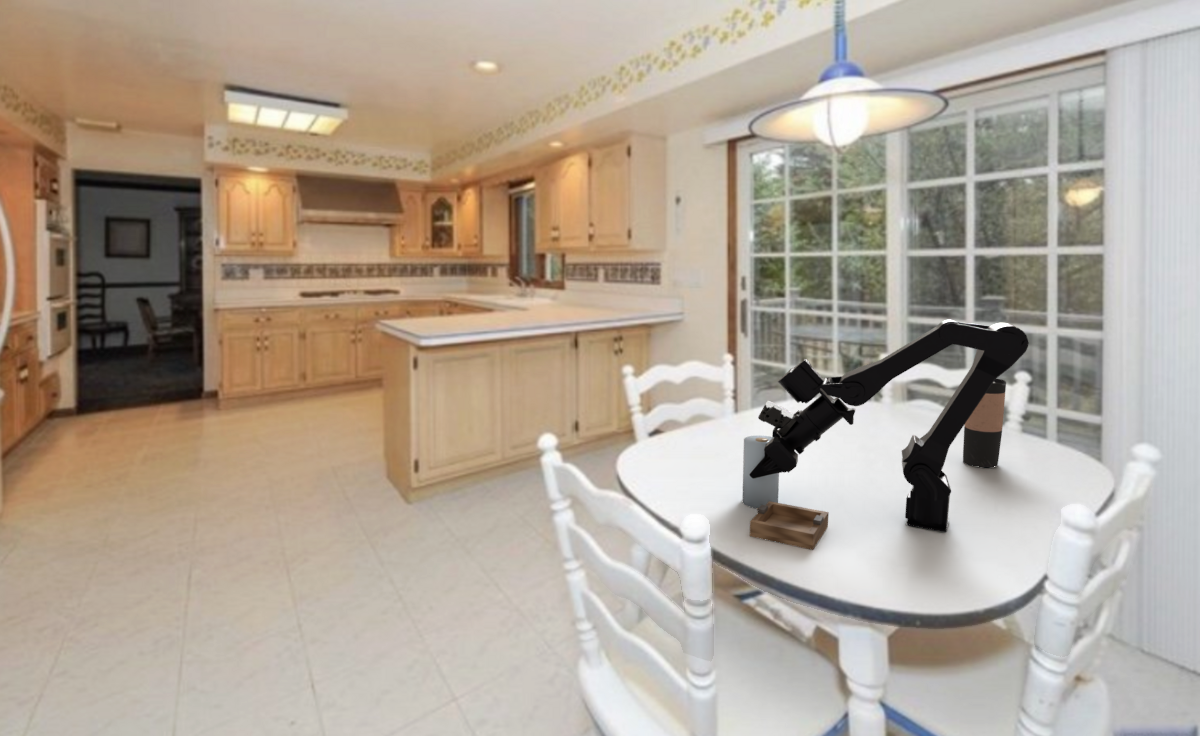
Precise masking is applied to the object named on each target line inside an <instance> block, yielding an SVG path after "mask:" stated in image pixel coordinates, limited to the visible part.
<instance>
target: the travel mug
mask: <svg viewBox="0 0 1200 736" xmlns="http://www.w3.org/2000/svg"><path fill="white" fill-rule="evenodd" d="M1006 390H1007V381H1006V380H1005V379H1001V378H996V379H995V381H994V382H993V383H992V385H991V386H990V388H989V389H988V391H987V392H986V394H985V395H984V397H983V398H982V400H981V401H980V402H979V404H978V405H977V407H976V408H975V410H974V411H973V413H972V414H971V416H970V417H969V419H968V420H967V422H966V423H965V424H964V426H963V428H964V429H963V448H962V450H963V451H962V462H963V463H964V462H965V463H966V465H967V464H969V465H968V466H970V465H973V466H972V467H974V466H979V467H978V468H980V467H994V466H997V467H998V464H999V459H1000V452H1001V451H1000V450H1001V445H1002V443H1001V442H1002V437H1003V435H1002V434H1003V427H1004V426H1003V425H1004V415H1005V414H1004V412H1005V401H1006ZM965 463H964V464H965ZM994 468H995V467H994Z"/></svg>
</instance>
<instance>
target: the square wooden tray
mask: <svg viewBox="0 0 1200 736" xmlns="http://www.w3.org/2000/svg"><path fill="white" fill-rule="evenodd" d="M756 512H757V513H756V514H755V516H754V517H753V518H751V520H750V521H749V537H751V536H752V538H757V539H760V538H761V539H760V540H765V539H766V540H765V541H769V540H770V542H774V541H776V542H775V543H779V542H780V543H779V544H783V543H784V545H788V546H792V547H793V546H794V547H797V548H802V549H806V550H811V551H813V550H814V549H815V547H816V546H817V544H818V542H819V541H820V539H821V538H822V537H823V535H824V534H825V532H826V530H827V529H828V527H829V512H828V511H825V510H824V511H823V510H819V509H812V508H808V507H802V506H797V505H793V504H792V505H791V504H787V503H781V502H778V503H776V502H771V501H769V502H768V503H767V504H766V505H761V506H760V507H759V508H758V509H757V511H756Z"/></svg>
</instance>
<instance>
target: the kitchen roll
mask: <svg viewBox="0 0 1200 736" xmlns="http://www.w3.org/2000/svg"><path fill="white" fill-rule="evenodd" d="M773 438H774V437H772V436H770V435H750V436H746V437H744V438H743V461H742V463H743V464H742V501H743V502H742V503H744V504H743V505H744V506H746V505H747V507H748V506H750V507H749V508H752V507H753V509H756V508H759V507H760V506H761V505H766V504H767V503H768V502H769V501H771V502H776V503H779V487H780V486H779V484H780V473H776V474H771V475H767V476H762V477H758V478H754V479H753V478H751V476H750V475H749V474H750V473H751V471H752V470H753V469H754V468H755V467H756V465H757V464H758V463H759V462H760V461H761V460H762V458H763V457H764V448H765V446H766V444H767V443H768V442H769V441H770V440H771V439H773Z"/></svg>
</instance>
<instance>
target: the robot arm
mask: <svg viewBox="0 0 1200 736" xmlns="http://www.w3.org/2000/svg"><path fill="white" fill-rule="evenodd" d="M953 345H955V346H960V347H964V348H970V349H975V350H976V352H975V355H974V358H973V362H972V364H971V367H970V368H969V370H968V371H967V373H966V375H965V376H964V378H963V379H962V381H961V382H960V384H959V385H958V387H957V389H956V390H955V391H954V393H953V395H952V396H951V397H950V398H949V399H948V402H947V403H946V405H945V406H944V407H943V409H942V410H941V413H939V415H938V417H937V419H936V420H935V421H934V423H933V424H932V425H931V428H930V429H929V430H928V431H927V432H926V433H925V434H923V436H921V437H920V438H919V437H918V436H917V435H915V434H912V435H911V438H910V440H909V442H908V445H907V446H906V447H905V448H903V449H901V456H902V458H901V465H902V474H903V477H904V479H905V480H906V481H907V483H908V484H909V485H911V488H910V492H909V493H908V494H907V495H906V499H905V500H906V502H905V516H904V518H905V520H906V525H907V526H909V527H915V528H921V529H925V530H930V531H935V532H936V531H937V532H941V533H947V531H948V527H949V524H950V523H949V522H950V518H949V512H950V511H949V510H950V509H949V508H950V499H951V493H952V489H951V486H950V483H949V480H948V477H947V475H946V473H945V472H944V471H942V470H943V468H944V466H945V465H944V464H945V462H946V459H947V455H948V452H949V450H950V447H951V445H952V444H953V443H954V441H955V439H956V438H957V436H959V435H958V434H959V433H960V432H961V430H962V429H963V428H964V427H965V426H964V424H965V423H966V422H967V420H968V419H969V417H970V416H971V414H972V413H973V411H974V410H975V408H976V407H977V405H978V404H979V402H980V401H981V400H982V398H983V397H984V395H985V394H986V392H987V391H988V389H989V388H990V386H991V385H992V383H993V382H994V381H995V379H999V377H1000V376H1001V375H1003V374H1004V373H1005V372H1006V371H1007V370H1008V371H1009V369H1011V368H1012V367H1013V366H1014V365H1015V364H1016V362H1017V361H1019V359H1020V358H1022V357H1023V355H1024V354H1025V353H1026V352H1027V350H1028V348H1029V339H1028V336H1027V334H1026V333H1025V331H1023V330H1022V329H1020V328H1019V327H1017V326H1015V325H1013V324H1011V323H1007V322H998V323H994V324H991V325H985V324H979V323H978V324H977V323H969V322H961V321H956V320H953V319H944V320H943V321H940V322H939V323H938V324H937V325H936V326H935V327H932V329H930V330H928V331H927V332H925V333H923V334H921V335H920V336H918V337H917V338H915V339H913V340H911V341H910V342H908V343H906V344H904V345H903V346H901V347H899V348H898V349H896V350H895V351H893V352H892V353H890V354H888V355H887V356H885V357H883V358H882V359H879V360H877V361H874V362H871V363H868V364H865V365H861V366H859V367H857V368H855V369H852V370H849V371H847V372H845V373H844V374H843V375H842V376H828V377H827V376H826V377H823V376H822V375H821V374H820V373H819V372H818V371H817V370H816V369H815V368H814V367H813V365H812V364H811V363H810V361H808V359H806V358H804V359H803V360H802V361H800V362H799V363H798V364H796V365H795V366H794V367H792V368H790V369H789V370H788V371H786V373H785V374H784V375H783V376H781V377H780V378H779V379H778V380H777V384H779V385H780V386H781V387H782V388H783V389H784V390H785V391H786V393H788V394H789V395H790V396H791V397H792V398H793V400H795V402H796V403H798V404H799V403H802V404H804V403H805V404H808V403H809V402H810V401H812V400H813V399H815V398H816V397H817V396H818V395H819V394H820V395H819V397H818V398H816V399H815V400H814V401H812V402H811V403H810V404H809V405H808V406H807V407H805V408H804V409H803V410H798V409H797V411H795V412H794V413H793V412H791V411H789V410H788V409H786V408H784V407H782V406H781V405H779V404H777V403H775V402H773V401H771V400H766V402H765V404H764V405H763V407H762V409H761V410H760V413H759V415H758V420H759V421H761V422H763V423H767V424H769V425H771V426H772V427H774V428H773V430H772V434H771V435H772V436H771V437H774V438H773V439H771V440H770V441H769V442H768V443H767V444H766V446H765V448H764V457H763V458H762V460H761V461H760V462H759V463H758V464H757V465H756V467H755V468H754V469H753V470H752V471H751V473H750V474H749V475H750V476H751V478H753V479H754V478H758V477H762V476H767V475H771V474H776V473H779V474H780V473H787V474H788V473H790V472H792V471H793V470H794V469H795V468H796V467H797V466H798V463H799V455H801V454H802V453H803V452H805V448H807V447H808V446H810V445H811V444H812V443H813V442H818V441H819V440H820V439H821V437H822V435H823V434H824V433H826V432H827V431H829V429H831V428H832V427H833V426H835V425H836V424H837V423H838V422H839V421H841V420H842V419H843V420H845V421H846V422H847V423H848V424H849V425H850V426H851V425H854V416H855V413H856V408H854V407H860V406H863V405H865V404H867V402H869V401H870V400H871V399H872V398H873V397H875V396H876V395H877V394H878V393H880V392H881V390H883V388H885V386H886V385H887V384H889V382H890V381H892V380H893V379H895V378H897V377H899V376H900V375H902V374H903V373H905V372H906V371H908V370H910V369H913V368H914V367H916V366H917V365H919V364H920V363H922V362H924V361H926V360H927V359H929V358H931V357H933V356H934V355H936V354H938V353H939V352H941V351H943V350H944V349H946V348H948V347H949V346H953ZM833 397H834V398H833ZM847 405H848V406H852V407H848V406H847Z"/></svg>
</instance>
